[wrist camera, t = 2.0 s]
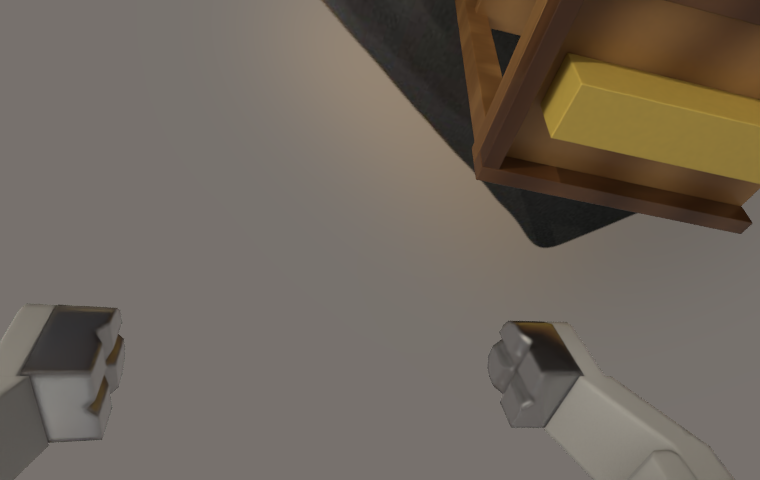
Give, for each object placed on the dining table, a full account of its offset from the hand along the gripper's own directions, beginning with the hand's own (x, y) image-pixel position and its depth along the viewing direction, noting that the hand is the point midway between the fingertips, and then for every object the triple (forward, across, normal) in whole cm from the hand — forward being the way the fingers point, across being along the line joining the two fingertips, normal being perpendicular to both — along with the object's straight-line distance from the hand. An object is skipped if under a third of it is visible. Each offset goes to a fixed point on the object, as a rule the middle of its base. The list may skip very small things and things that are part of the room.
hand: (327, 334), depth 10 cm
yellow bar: (+13, -24, -2) cm, 28 cm away
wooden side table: (+39, -23, -8) cm, 46 cm away
